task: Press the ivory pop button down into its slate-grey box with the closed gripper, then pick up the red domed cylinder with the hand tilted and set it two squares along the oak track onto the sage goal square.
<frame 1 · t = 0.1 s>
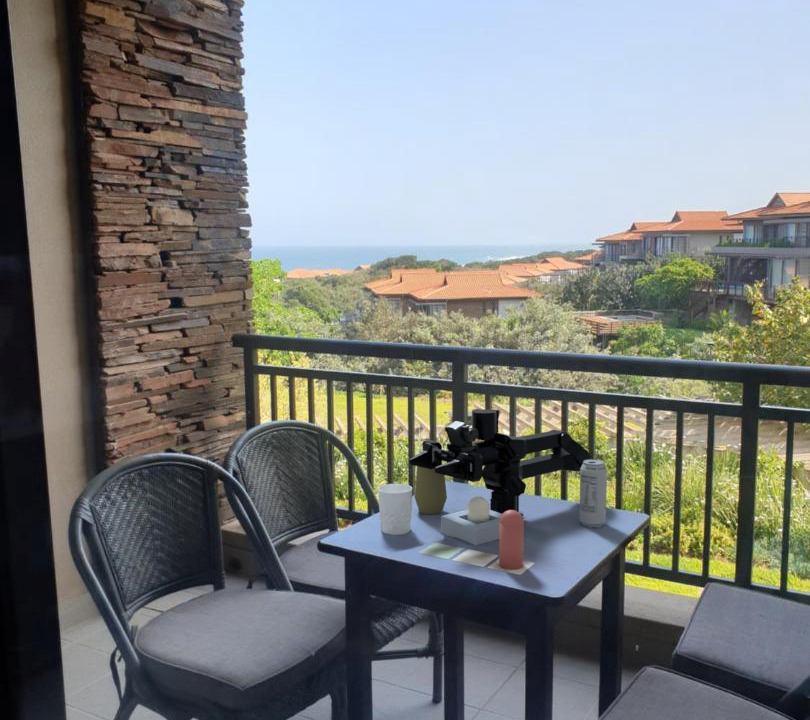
hand: (422, 466, 177), 17 cm above the table, tool horizontal, fingers open, 9 cm apart
energy drink can: (592, 524, 187), on the table
track: (475, 560, 165), on the table
plunger: (478, 508, 180), point 6 cm above the table, slide at 0.0 cm
button box: (478, 534, 181), on the table
white cup: (395, 531, 184), on the table
squeeze bottle: (430, 512, 198), on the table
red domed cylinder: (511, 565, 161), point 1 cm above the table, touching track
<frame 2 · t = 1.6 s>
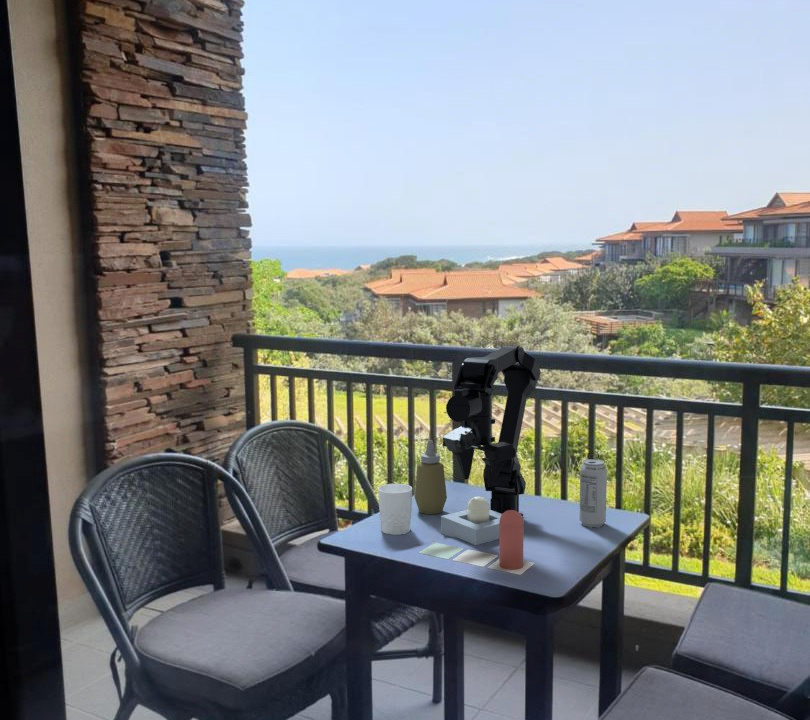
hand: (478, 482, 179), 12 cm above the table, tool pointing down, fingers open, 8 cm apart
nothing on the table moved.
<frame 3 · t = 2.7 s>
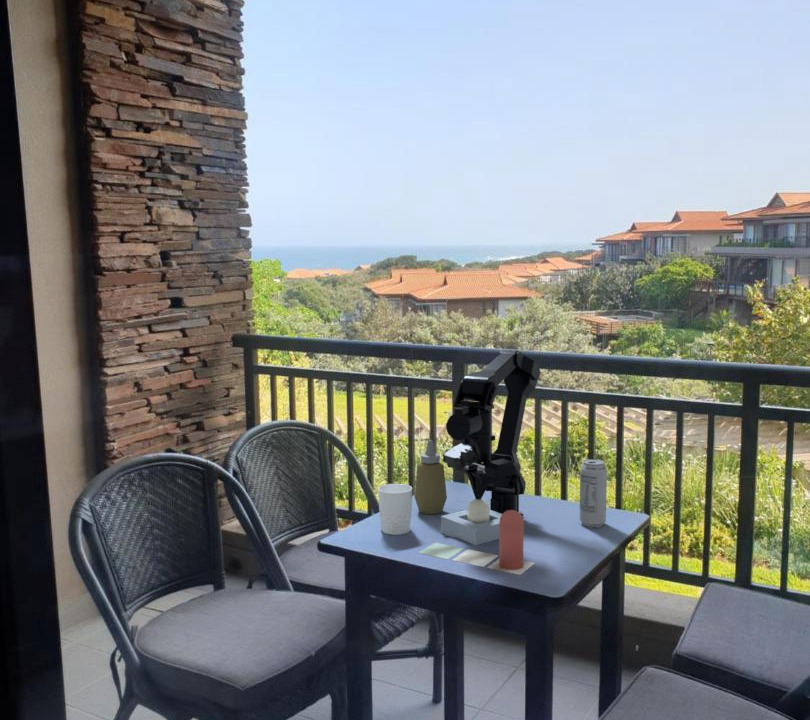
hand: (478, 499, 180), 8 cm above the table, tool pointing down, fingers closed, pressing on plunger
plunger: (478, 510, 180), point 6 cm above the table, slide at 0.5 cm, touching gripper
everything else where it was.
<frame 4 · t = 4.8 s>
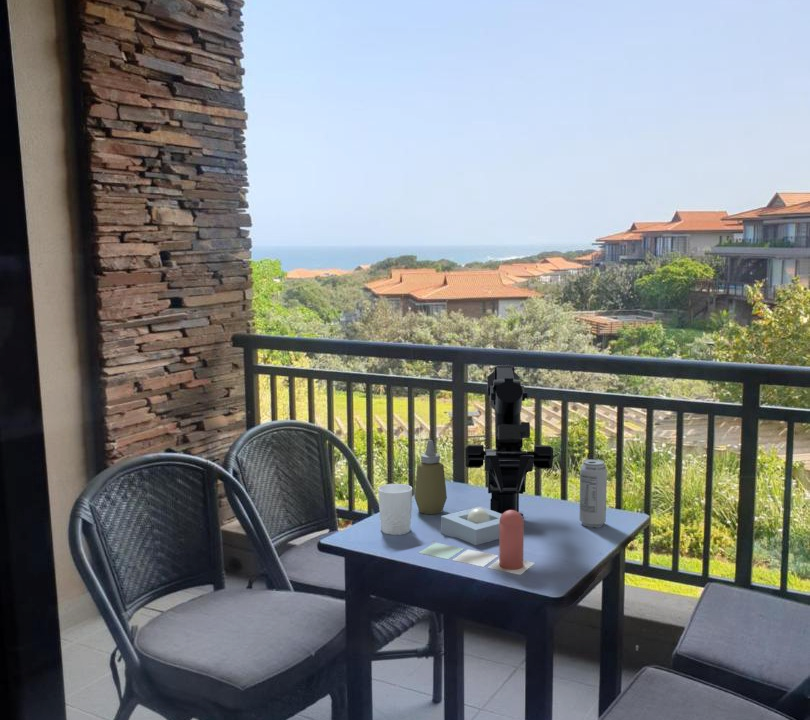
hand: (509, 491, 167), 14 cm above the table, tool tilted 45°, fingers open, 3 cm apart
plunger: (478, 520, 180), point 3 cm above the table, slide at 2.8 cm
everything else where it was.
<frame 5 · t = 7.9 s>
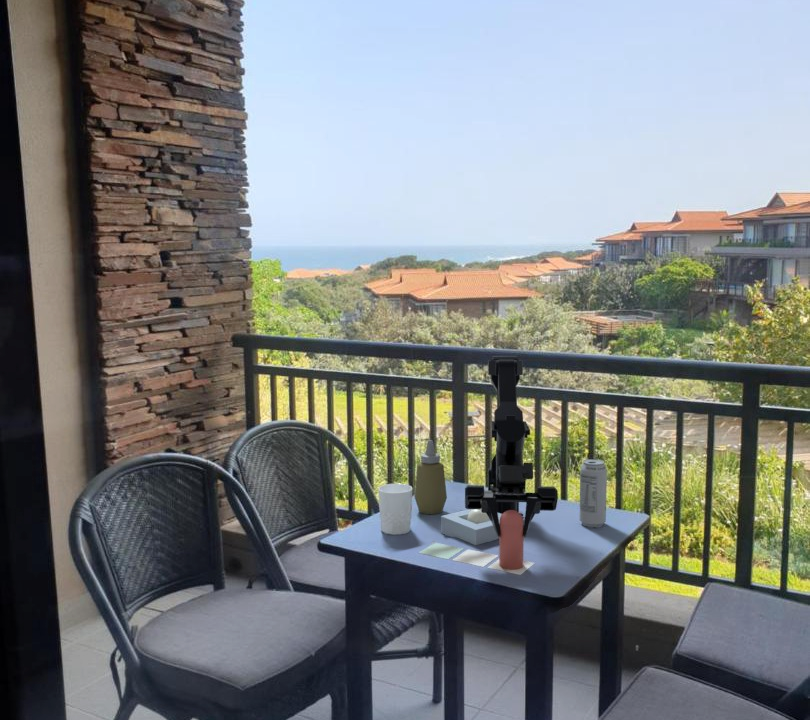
hand: (511, 536, 158), 7 cm above the table, tool tilted 45°, fingers closed on red domed cylinder, 5 cm apart
red domed cylinder: (511, 565, 161), point 1 cm above the table, touching gripper, track
everything else where it was.
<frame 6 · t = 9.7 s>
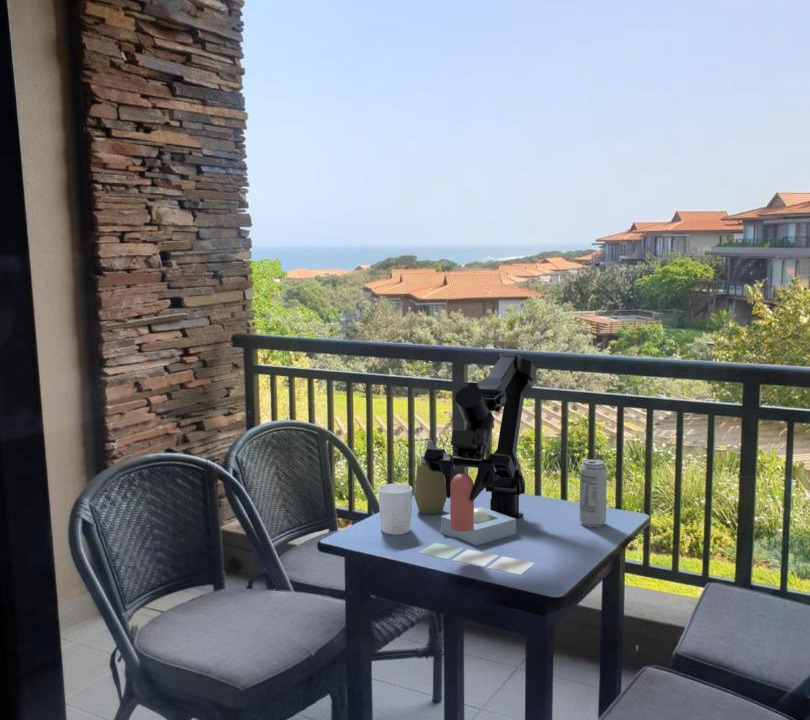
hand: (459, 498, 163), 13 cm above the table, tool tilted 45°, fingers closed on red domed cylinder, 5 cm apart
red domed cylinder: (462, 527, 165), point 7 cm above the table, touching gripper
everything else where it was.
when the fingers open (8 cm above the table, at t = 11.5 s): red domed cylinder drops 1 cm, resting on track.
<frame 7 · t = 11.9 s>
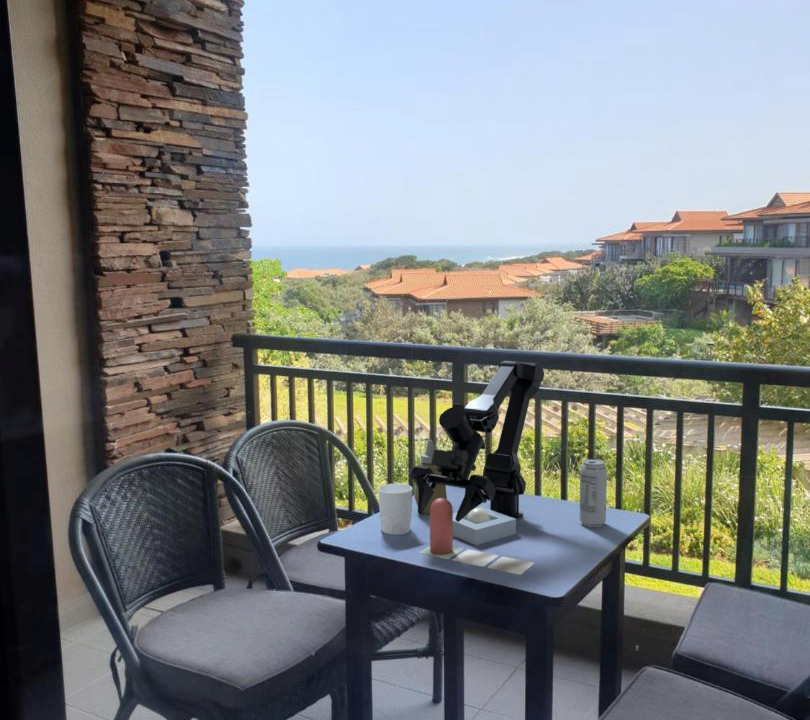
hand: (437, 517, 167), 8 cm above the table, tool tilted 45°, fingers open, 9 cm apart
red domed cylinder: (441, 550, 169), point 1 cm above the table, touching track
everything else where it was.
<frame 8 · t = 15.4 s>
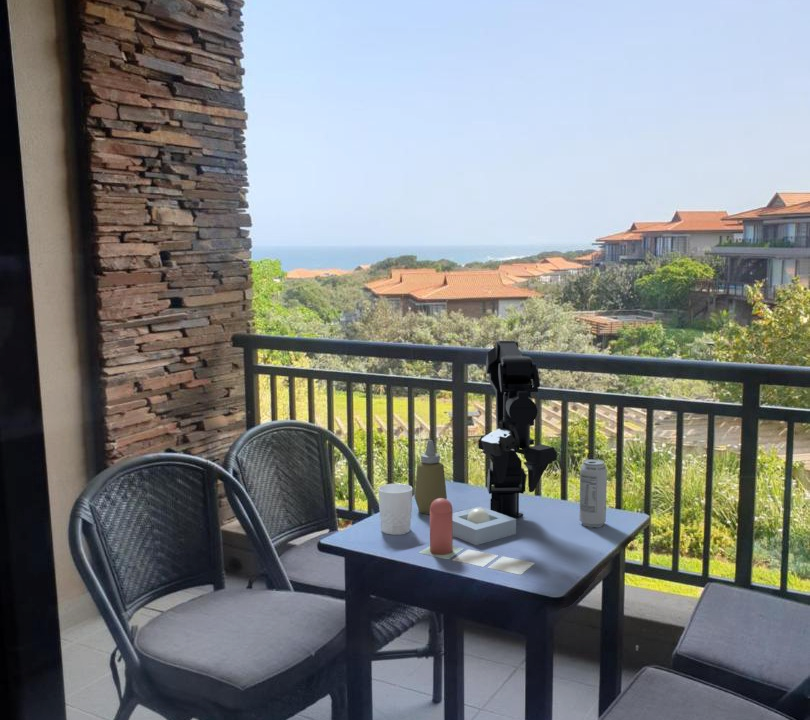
hand: (516, 487, 172), 13 cm above the table, tool pointing down, fingers open, 9 cm apart
nothing on the table moved.
at the end: red domed cylinder 0.0 cm from the target spot, point 0.6 cm above the table; red domed cylinder tilted 0°; plunger slide at 2.8 cm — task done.
